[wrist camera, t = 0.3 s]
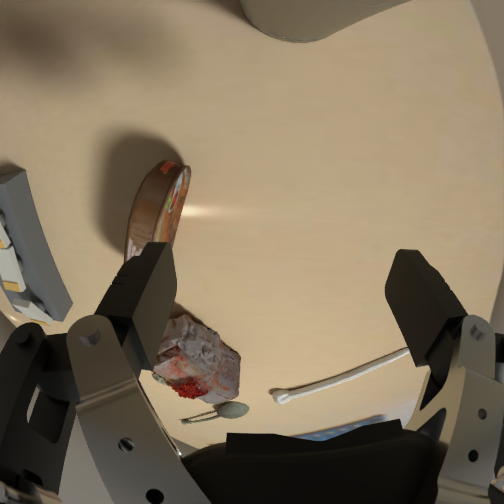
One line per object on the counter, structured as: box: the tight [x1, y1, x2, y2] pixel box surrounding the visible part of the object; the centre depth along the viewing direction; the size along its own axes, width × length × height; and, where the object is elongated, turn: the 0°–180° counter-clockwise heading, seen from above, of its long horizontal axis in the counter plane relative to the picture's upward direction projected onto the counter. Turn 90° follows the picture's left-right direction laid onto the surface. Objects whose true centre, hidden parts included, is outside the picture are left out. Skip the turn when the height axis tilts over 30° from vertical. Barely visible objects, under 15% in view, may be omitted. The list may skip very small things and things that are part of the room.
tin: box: [124, 160, 191, 263], centre depth 25 cm, size 15×3×8 cm, turn 159°
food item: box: [153, 314, 241, 404], centre depth 36 cm, size 14×8×10 cm, turn 37°
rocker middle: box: [0, 246, 26, 292], centre depth 26 cm, size 6×4×2 cm, turn 178°
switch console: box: [0, 170, 73, 322], centre depth 29 cm, size 22×12×4 cm, turn 178°
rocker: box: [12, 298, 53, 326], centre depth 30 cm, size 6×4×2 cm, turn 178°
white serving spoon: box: [273, 348, 410, 404], centre depth 46 cm, size 28×4×3 cm, turn 122°
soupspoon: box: [181, 401, 249, 425], centre depth 57 cm, size 22×3×7 cm
